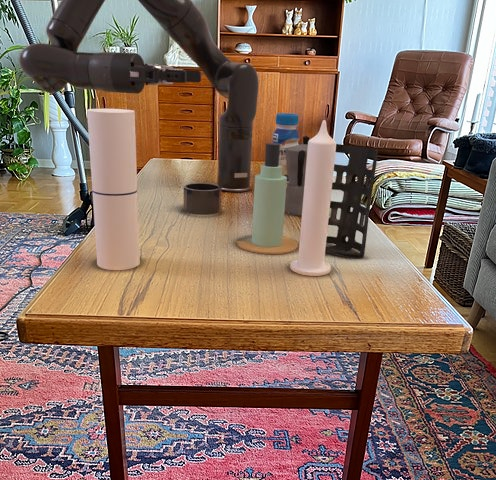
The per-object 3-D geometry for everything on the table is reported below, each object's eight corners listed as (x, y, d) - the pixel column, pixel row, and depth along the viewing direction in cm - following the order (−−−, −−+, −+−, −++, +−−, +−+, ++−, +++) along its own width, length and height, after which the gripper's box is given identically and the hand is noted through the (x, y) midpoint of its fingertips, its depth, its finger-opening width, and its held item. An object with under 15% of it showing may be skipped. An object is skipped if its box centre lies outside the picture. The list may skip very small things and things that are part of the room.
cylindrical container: (102, 272, 87) (92, 112, 77) (93, 258, 93) (82, 108, 83) (145, 267, 90) (140, 112, 81) (133, 254, 96) (127, 108, 86)
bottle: (255, 236, 108) (260, 140, 101) (284, 240, 107) (291, 143, 100) (248, 245, 103) (253, 144, 95) (278, 248, 101) (286, 147, 94)
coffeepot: (284, 203, 138) (289, 131, 131) (321, 207, 136) (328, 134, 129) (275, 218, 124) (280, 138, 117) (316, 222, 122) (323, 142, 115)
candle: (320, 279, 88) (336, 123, 79) (282, 270, 92) (294, 119, 82) (336, 267, 94) (353, 120, 85) (301, 259, 97) (313, 117, 88)
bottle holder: (190, 205, 131) (190, 181, 129) (225, 209, 129) (225, 184, 127) (178, 214, 123) (177, 188, 121) (214, 218, 121) (214, 192, 119)
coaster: (245, 233, 112) (245, 231, 111) (302, 239, 109) (302, 237, 109) (230, 249, 101) (230, 247, 101) (292, 257, 98) (292, 255, 98)
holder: (304, 248, 102) (319, 142, 96) (317, 243, 109) (332, 142, 103) (359, 260, 98) (378, 149, 92) (370, 253, 104) (388, 149, 98)
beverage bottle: (294, 179, 170) (299, 113, 162) (298, 184, 162) (303, 115, 154) (268, 178, 169) (271, 112, 161) (270, 183, 161) (275, 114, 154)
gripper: (98, 50, 99) (180, 54, 96) (132, 53, 112) (205, 57, 109) (101, 93, 102) (180, 98, 99) (133, 91, 115) (204, 95, 111)
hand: (193, 76), depth 104 cm, fingers open, 8 cm apart
